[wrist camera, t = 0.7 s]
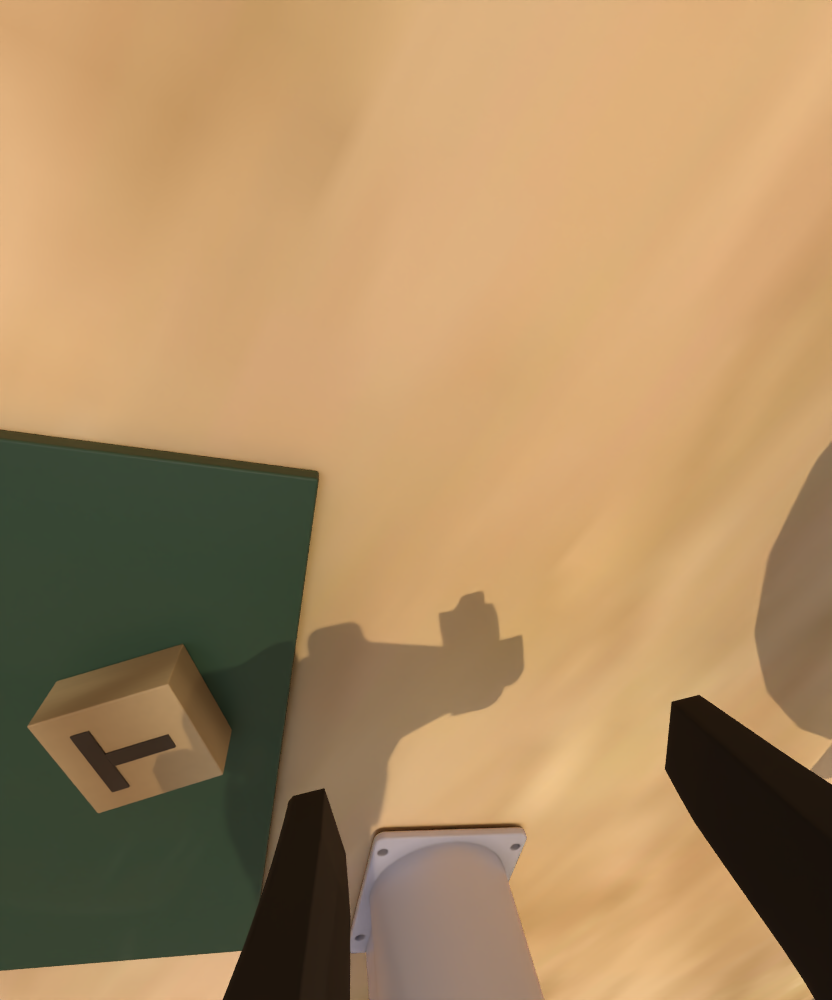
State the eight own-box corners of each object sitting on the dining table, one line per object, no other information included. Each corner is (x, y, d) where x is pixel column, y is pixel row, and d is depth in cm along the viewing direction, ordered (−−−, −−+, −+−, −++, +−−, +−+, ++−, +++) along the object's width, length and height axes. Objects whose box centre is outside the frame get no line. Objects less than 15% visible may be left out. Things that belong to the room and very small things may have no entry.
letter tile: (183, 642, 18) (167, 685, 16) (232, 729, 20) (222, 777, 18) (56, 680, 18) (24, 728, 16) (118, 764, 20) (96, 816, 18)
